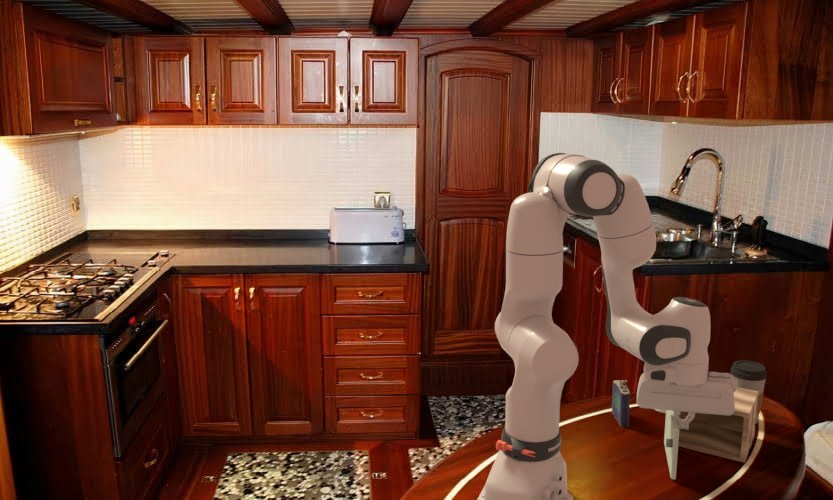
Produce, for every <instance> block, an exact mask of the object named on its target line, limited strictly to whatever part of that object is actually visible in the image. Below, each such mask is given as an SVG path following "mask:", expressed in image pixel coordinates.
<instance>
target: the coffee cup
mask: <svg viewBox="0 0 833 500" xmlns="http://www.w3.org/2000/svg"><path fill="white" fill-rule="evenodd" d="M729 373H730V375H732V376H734V377H735V378H736V379H737V387H739V388H744V389H749V390H754V391H759V393H758V403H757V413H756V423H755V424H757V423H758V422H759V417H760V413H761V409H762V403H763V397H764V393H765V389H764V388H765V383H766V379H767V377H768V375H767V374H768V373H767V370H766V367H765V365H764V364H762V363H760V362H756V361H752V360H746V359H745V360H736V361H734V362H733V363H732V365H731V366H730V371H729ZM730 378H732V377H730Z"/></svg>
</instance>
